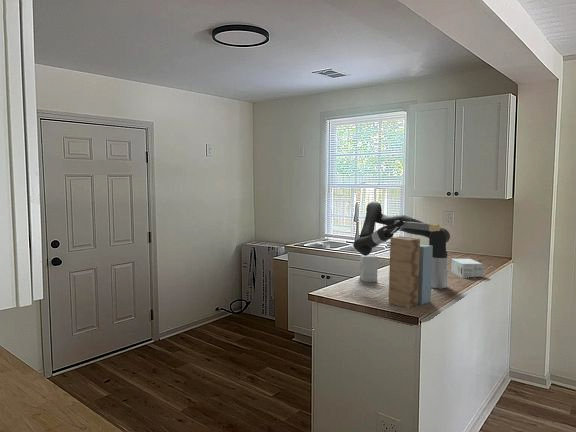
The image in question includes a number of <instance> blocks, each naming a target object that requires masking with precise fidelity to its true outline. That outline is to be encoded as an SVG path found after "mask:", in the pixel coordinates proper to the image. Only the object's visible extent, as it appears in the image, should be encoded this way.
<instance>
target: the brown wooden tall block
mask: <svg viewBox="0 0 576 432" xmlns="http://www.w3.org/2000/svg"><path fill="white" fill-rule="evenodd" d="M389 240H390V244H389V247H390V248H389V270H388V271H389V272H388V273H389V274H388V278H389V279H388V303H391V304H394V305H397V306H401V307H404V308H407V307H408V309H410V308H413V306H414V307H417V305H418V306H419V304H418V287H419V258H420V244H421V239H420V238H414V237H406V236H393V237H390V239H389ZM409 307H410V308H409Z"/></svg>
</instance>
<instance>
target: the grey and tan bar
mask: <svg viewBox="0 0 576 432" xmlns="http://www.w3.org/2000/svg"><path fill="white" fill-rule="evenodd" d="M397 222H399V221H395V223H397ZM403 222H404V224H403V225H401V226H399V227H402V228H410V229H419V230H427V231H440V228H441V227H440V226H441V224H440V223H438V224H437V223H425V222H423V223H417V222H407V221H403Z"/></svg>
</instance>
